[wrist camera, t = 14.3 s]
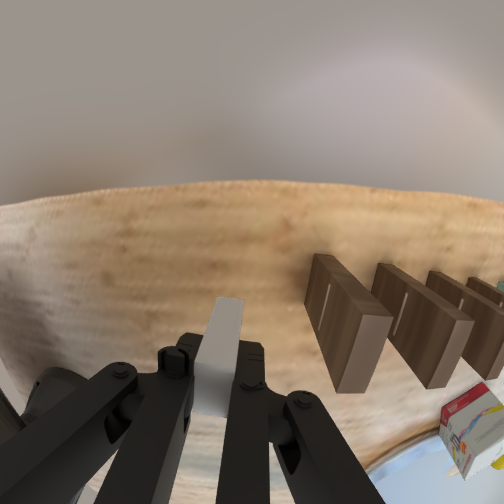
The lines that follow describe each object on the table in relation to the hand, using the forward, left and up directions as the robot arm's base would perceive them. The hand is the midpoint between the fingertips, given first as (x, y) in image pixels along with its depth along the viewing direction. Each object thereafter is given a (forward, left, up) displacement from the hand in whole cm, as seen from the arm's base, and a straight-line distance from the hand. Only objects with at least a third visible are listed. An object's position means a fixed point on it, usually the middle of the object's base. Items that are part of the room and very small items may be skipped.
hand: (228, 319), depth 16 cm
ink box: (+37, -19, -10) cm, 43 cm away
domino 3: (+20, 0, -10) cm, 23 cm away
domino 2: (+14, 0, -10) cm, 17 cm away
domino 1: (+7, 0, -10) cm, 13 cm away
